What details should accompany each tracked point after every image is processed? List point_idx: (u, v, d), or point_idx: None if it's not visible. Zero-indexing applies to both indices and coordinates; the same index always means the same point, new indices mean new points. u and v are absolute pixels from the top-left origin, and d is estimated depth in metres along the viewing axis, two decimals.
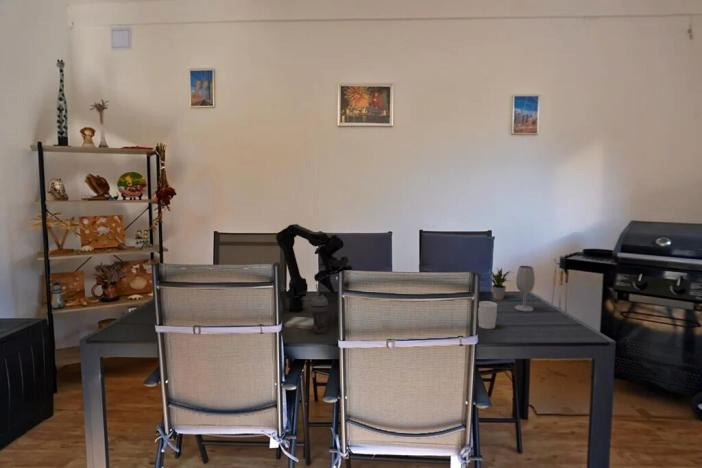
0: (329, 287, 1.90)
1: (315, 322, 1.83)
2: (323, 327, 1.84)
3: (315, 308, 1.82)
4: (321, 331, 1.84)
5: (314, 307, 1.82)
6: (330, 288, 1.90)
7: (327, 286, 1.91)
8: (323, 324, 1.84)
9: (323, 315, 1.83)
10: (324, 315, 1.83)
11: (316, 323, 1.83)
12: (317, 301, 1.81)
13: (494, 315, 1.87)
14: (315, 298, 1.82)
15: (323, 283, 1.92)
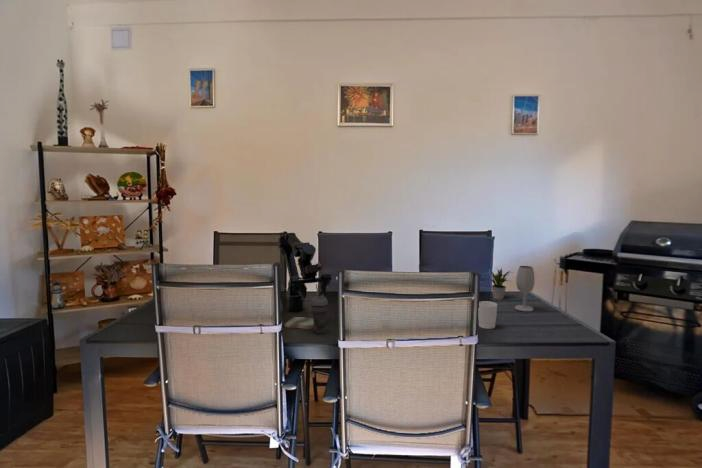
0: (300, 293, 1.89)
1: (315, 322, 1.83)
2: (323, 327, 1.84)
3: (315, 308, 1.82)
4: (321, 331, 1.84)
5: (314, 307, 1.82)
6: (301, 294, 1.89)
7: (299, 293, 1.90)
8: (323, 324, 1.84)
9: (323, 315, 1.83)
10: (324, 315, 1.83)
11: (316, 323, 1.83)
12: (317, 301, 1.81)
13: (494, 315, 1.87)
14: (315, 298, 1.82)
15: (296, 290, 1.92)
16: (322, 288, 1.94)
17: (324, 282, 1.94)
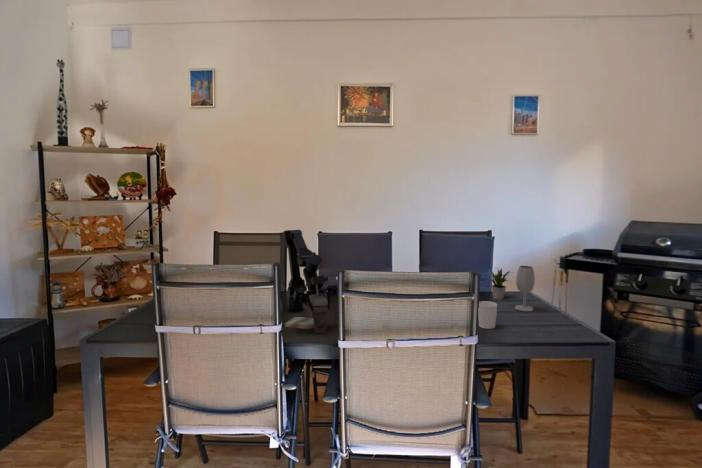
0: (308, 305, 1.83)
1: (315, 322, 1.83)
2: (323, 327, 1.84)
3: (315, 308, 1.82)
4: (321, 331, 1.84)
5: (314, 307, 1.82)
6: (309, 306, 1.83)
7: (307, 304, 1.84)
8: (323, 324, 1.84)
9: (323, 315, 1.83)
10: (324, 315, 1.83)
11: (316, 323, 1.83)
12: (317, 301, 1.81)
13: (494, 315, 1.87)
14: (315, 298, 1.82)
15: (304, 302, 1.86)
16: None
17: (328, 294, 1.87)
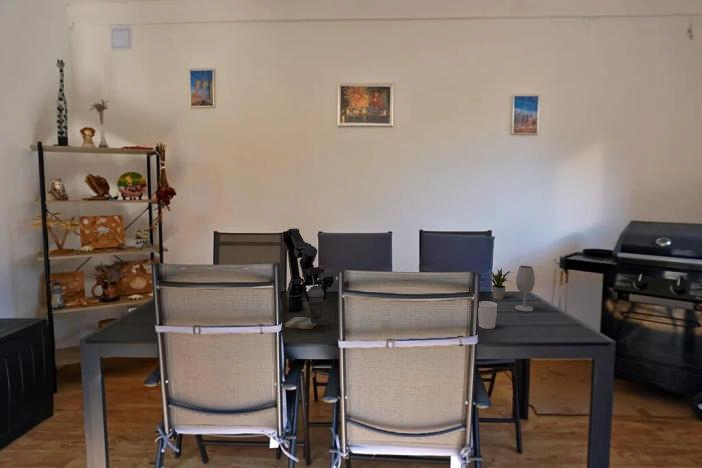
0: (304, 296, 1.85)
1: (311, 313, 1.85)
2: (319, 318, 1.86)
3: (311, 299, 1.83)
4: (317, 322, 1.86)
5: (310, 298, 1.83)
6: (305, 297, 1.85)
7: (303, 295, 1.86)
8: (319, 315, 1.85)
9: (319, 306, 1.85)
10: (320, 305, 1.85)
11: (312, 314, 1.85)
12: (313, 292, 1.83)
13: (494, 315, 1.87)
14: (311, 289, 1.84)
15: (300, 293, 1.87)
16: None
17: (324, 285, 1.89)
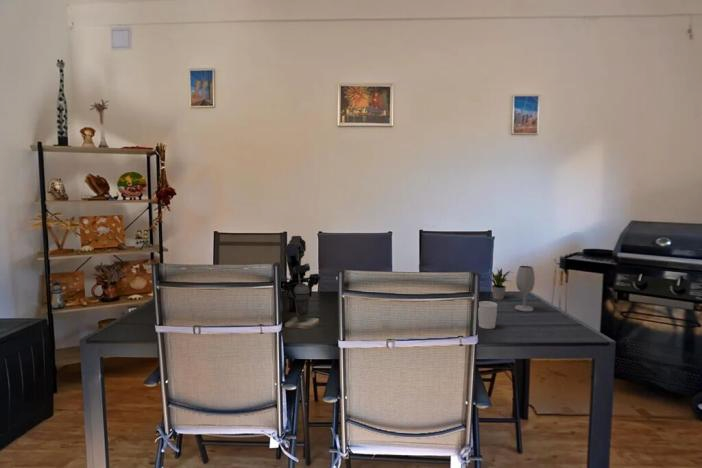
0: (291, 293, 1.92)
1: (297, 309, 1.92)
2: (305, 314, 1.93)
3: (297, 296, 1.90)
4: (303, 318, 1.93)
5: (296, 295, 1.91)
6: (291, 294, 1.92)
7: (289, 292, 1.93)
8: (305, 311, 1.92)
9: (305, 302, 1.92)
10: (306, 302, 1.92)
11: (298, 310, 1.92)
12: (299, 289, 1.90)
13: (494, 315, 1.87)
14: (297, 286, 1.91)
15: (287, 290, 1.94)
16: None
17: (310, 282, 1.96)
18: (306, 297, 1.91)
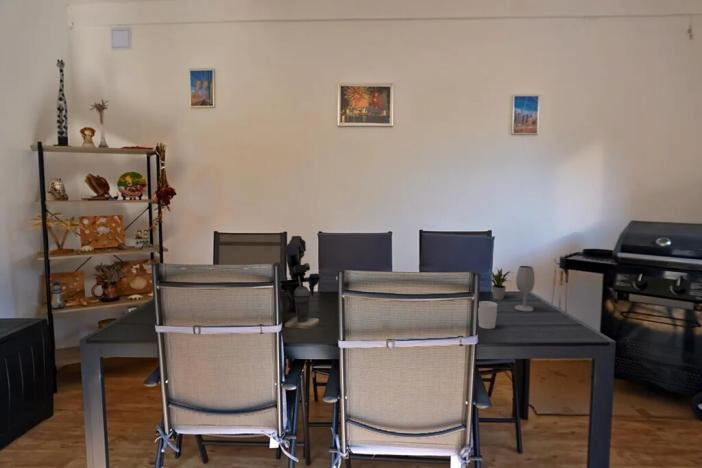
0: (288, 293, 1.91)
1: (297, 312, 1.92)
2: (305, 317, 1.93)
3: (297, 298, 1.91)
4: (303, 320, 1.93)
5: (296, 297, 1.91)
6: (289, 294, 1.91)
7: (287, 292, 1.92)
8: (305, 314, 1.92)
9: (305, 305, 1.92)
10: (306, 305, 1.92)
11: (298, 313, 1.92)
12: (299, 292, 1.90)
13: (494, 315, 1.87)
14: (297, 289, 1.91)
15: (285, 290, 1.94)
16: (310, 288, 1.97)
17: (312, 282, 1.96)
18: (306, 300, 1.91)
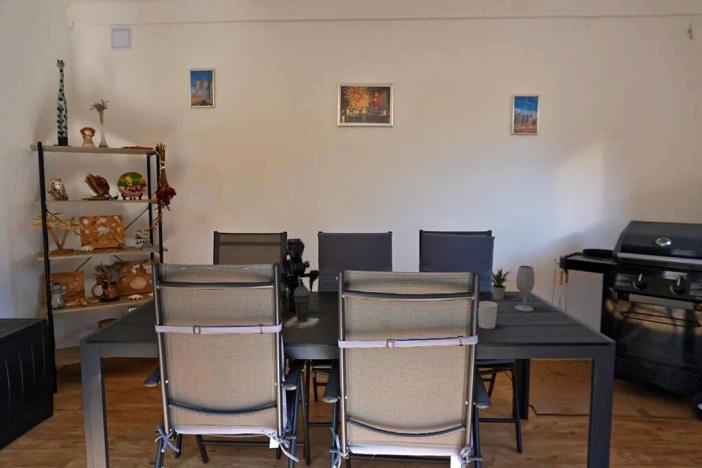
0: (288, 288, 2.03)
1: (297, 312, 1.92)
2: (305, 317, 1.93)
3: (297, 298, 1.91)
4: (303, 320, 1.93)
5: (296, 297, 1.91)
6: (289, 289, 2.03)
7: (287, 287, 2.04)
8: (305, 314, 1.92)
9: (305, 305, 1.92)
10: (306, 305, 1.92)
11: (298, 313, 1.92)
12: (299, 292, 1.90)
13: (494, 315, 1.87)
14: (297, 289, 1.91)
15: (285, 285, 2.05)
16: (310, 284, 2.07)
17: (312, 278, 2.06)
18: (306, 300, 1.91)
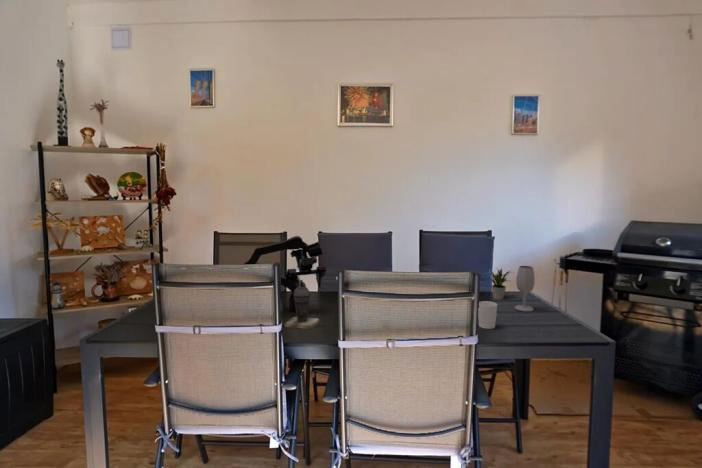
0: (297, 284, 2.03)
1: (297, 312, 1.92)
2: (305, 317, 1.93)
3: (297, 298, 1.91)
4: (303, 320, 1.93)
5: (296, 297, 1.91)
6: (298, 285, 2.03)
7: (296, 284, 2.04)
8: (305, 314, 1.92)
9: (305, 305, 1.92)
10: (306, 305, 1.92)
11: (298, 313, 1.92)
12: (299, 292, 1.90)
13: (494, 315, 1.87)
14: (297, 289, 1.91)
15: (293, 281, 2.05)
16: (317, 279, 2.08)
17: (319, 274, 2.08)
18: (306, 300, 1.91)
